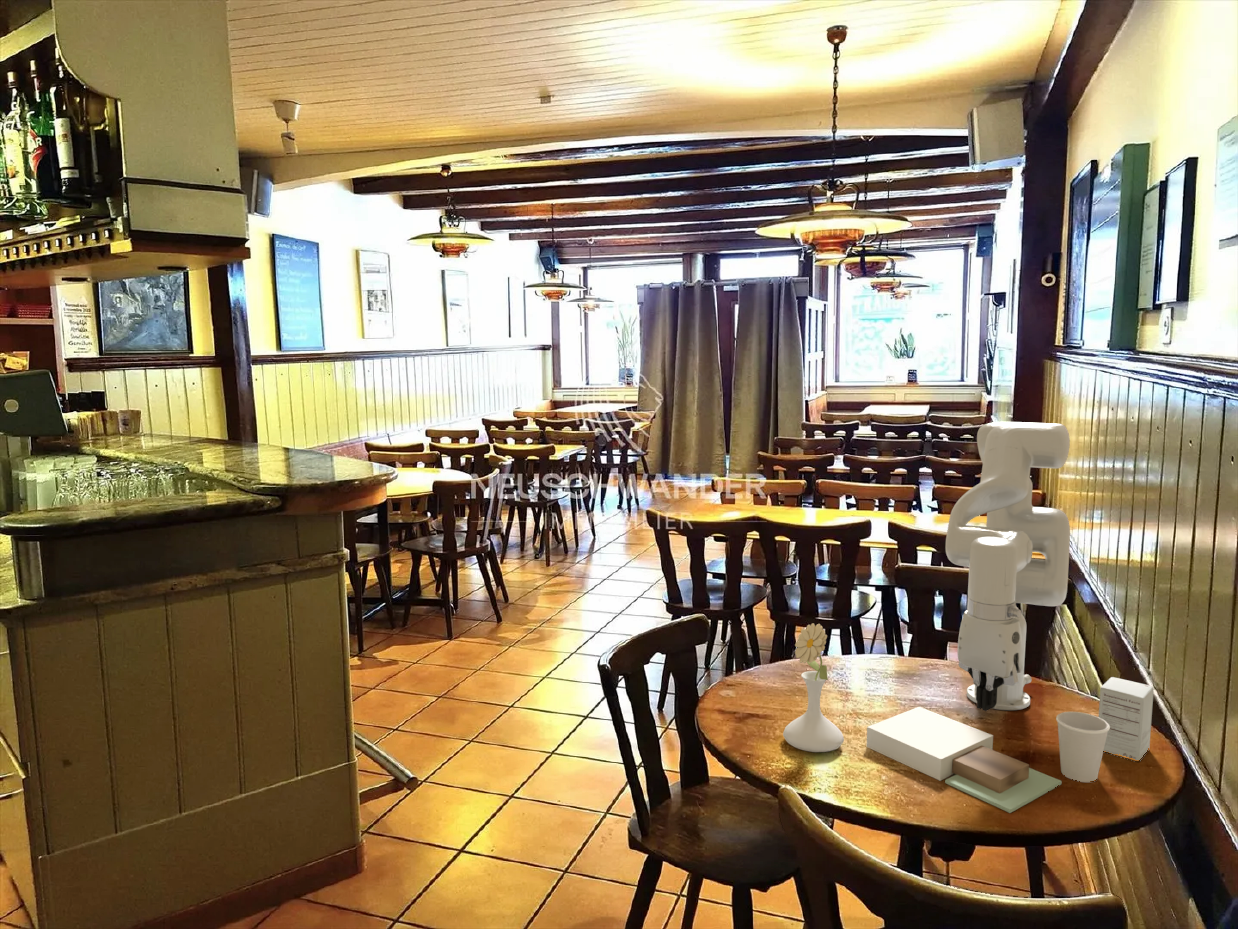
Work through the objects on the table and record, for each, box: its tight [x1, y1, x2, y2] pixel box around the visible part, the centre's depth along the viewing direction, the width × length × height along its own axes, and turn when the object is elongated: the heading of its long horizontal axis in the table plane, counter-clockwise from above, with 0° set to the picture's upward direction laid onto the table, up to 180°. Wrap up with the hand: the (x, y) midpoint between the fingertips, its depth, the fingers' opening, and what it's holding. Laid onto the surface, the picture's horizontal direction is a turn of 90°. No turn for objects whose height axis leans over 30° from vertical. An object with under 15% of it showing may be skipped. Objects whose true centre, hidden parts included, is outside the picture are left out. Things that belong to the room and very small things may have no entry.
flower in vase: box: [782, 623, 845, 753], centre depth 161 cm, size 13×11×25 cm
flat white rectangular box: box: [866, 706, 994, 782], centre depth 160 cm, size 16×16×4 cm
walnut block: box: [952, 746, 1030, 794], centre depth 150 cm, size 9×9×2 cm
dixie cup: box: [1055, 711, 1110, 783], centre depth 150 cm, size 8×8×10 cm
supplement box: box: [1097, 676, 1155, 761], centre depth 159 cm, size 7×7×13 cm
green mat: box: [944, 767, 1062, 814], centre depth 148 cm, size 16×12×1 cm
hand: (985, 707), depth 151 cm, fingers closed
